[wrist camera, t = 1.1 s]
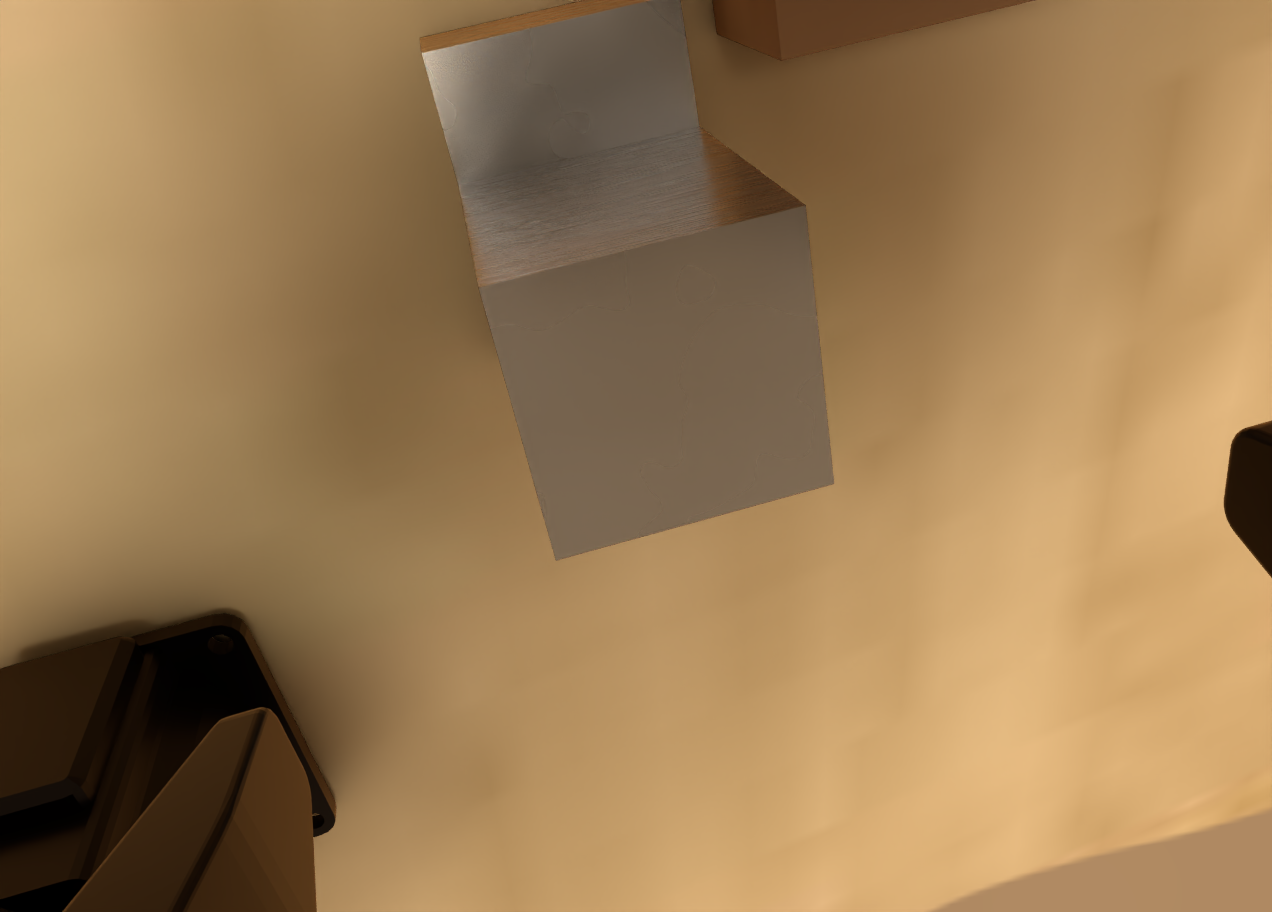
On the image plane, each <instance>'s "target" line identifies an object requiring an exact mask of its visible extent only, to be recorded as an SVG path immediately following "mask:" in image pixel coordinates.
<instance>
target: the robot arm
mask: <svg viewBox="0 0 1272 912" xmlns="http://www.w3.org/2000/svg"><path fill="white" fill-rule="evenodd" d="M1224 510H1225V514H1226V517H1227V520H1228V522H1229V524H1230V526H1231V528H1232V529H1233V531H1234V532H1235V533H1236V535H1237V536H1238V537H1239V538H1240V539H1241V541H1242V542H1243V543H1244V544H1245V546H1246V547H1247V548H1248V549H1249V551H1250V552H1251V553H1252V554H1253V555H1254V557H1255V558H1256V559H1257V560H1258V562H1259V563H1260V564H1261V565H1262V567H1263V568H1264V569H1265V570H1266V571H1267V573H1268V574H1269V575H1270V576H1271V578H1272V421H1268V422H1265V423H1261V424H1258V425H1254V426H1251V427H1247V428H1244V429H1242V430H1241V431H1240V432H1238V433H1237V434H1236V436H1235V437H1234V439H1233V441H1232V444H1231V449H1230V457H1229V464H1228V472H1227V480H1226V487H1225V495H1224ZM215 635H225V636H228V637H230V638H231V639H232V640H231V641H229V642H219V641H216V640H215V639H214V638H213V636H215ZM313 813H316V814H320V815H316V816H312V814H313ZM335 820H336V803H335V800H334V798H333V796H332V794H331V792H330V790H329V788H328V786H327V784H326V782H325V780H324V778H323V776H322V774H321V772H320V770H319V768H318V766H317V764H316V762H315V760H314V758H313V756H312V754H311V752H310V750H309V748H308V746H307V744H306V742H305V740H304V738H303V736H302V734H301V732H300V730H299V728H298V726H297V724H296V722H295V720H294V718H293V716H292V714H291V712H290V710H289V708H288V706H287V704H286V702H285V700H284V698H283V696H282V694H281V692H280V690H279V688H278V686H277V684H276V682H275V680H274V678H273V676H272V674H271V672H270V670H269V668H268V666H267V664H266V662H265V660H264V658H263V656H262V654H261V652H260V650H259V648H258V646H257V644H256V642H255V640H254V638H253V636H252V634H251V632H250V630H249V628H248V626H247V625H246V624H245V623H244V621H243V620H242V619H240V618H238V617H236V616H235V615H230V614H225V613H223V614H214V615H210V616H207V617H203V618H199V619H196V620H192V621H188V622H185V623H181V624H177V625H174V626H170V627H166V628H162V629H159V630H155V631H151V632H148V633H144V634H140V635H137V636H133V637H116V638H112V639H108V640H104V641H101V642H97V643H93V644H90V645H86V646H82V647H79V648H75V649H71V650H68V651H64V652H60V653H57V654H53V655H49V656H46V657H42V658H38V659H35V660H31V661H27V662H23V663H20V664H16V665H12V666H9V667H5V668H2V669H1V670H0V912H317V908H316V887H315V866H314V844H313V837H316V836H320V835H322V834H324V833H327V832H328V831H329V830H330V829H331V828H332V827H333V826H334V823H335Z"/></svg>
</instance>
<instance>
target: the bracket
mask: <svg viewBox="0 0 1272 912" xmlns="http://www.w3.org/2000/svg"><path fill="white" fill-rule="evenodd" d="M420 45H421V53H422V57H423V60H424V64H425V68H426V71H427V75H428V78H429V82H430V86H431V89H432V93H433V96H434V100H435V103H436V107H437V111H438V114H439V118H440V121H441V125H442V129H443V132H444V136H445V139H446V143H447V146H448V150H449V154H450V157H451V161H452V164H453V168H454V172H455V175H456V179H457V182H458V186H459V191H460V196H461V201H462V207H463V212H464V217H465V222H466V227H467V232H468V237H469V242H470V247H471V252H472V257H473V262H474V267H475V272H476V277H477V283H478V288H479V291H480V295H481V298H482V302H483V305H484V309H485V312H486V316H487V319H488V323H489V326H490V330H491V333H492V337H493V341H494V344H495V348H496V351H497V355H498V358H499V362H500V365H501V369H502V372H503V376H504V379H505V383H506V386H507V390H508V393H509V397H510V400H511V404H512V407H513V411H514V415H515V418H516V422H517V425H518V429H519V432H520V436H521V439H522V443H523V446H524V450H525V453H526V457H527V460H528V464H529V467H530V471H531V474H532V478H533V482H534V485H535V489H536V492H537V496H538V499H539V503H540V506H541V510H542V513H543V517H544V520H545V524H546V527H547V531H548V534H549V538H550V541H551V545H552V548H553V552H554V556H555V559H556V560H560V559H563V558H567V557H571V556H574V555H578V554H582V553H585V552H589V551H592V550H596V549H600V548H603V547H607V546H611V545H614V544H618V543H621V542H625V541H629V540H632V539H636V538H640V537H643V536H647V535H650V534H654V533H658V532H661V531H665V530H669V529H672V528H676V527H679V526H683V525H687V524H690V523H694V522H698V521H701V520H705V519H708V518H712V517H716V516H719V515H723V514H727V513H730V512H734V511H737V510H741V509H745V508H748V507H752V506H756V505H759V504H763V503H766V502H770V501H774V500H777V499H781V498H785V497H788V496H792V495H795V494H799V493H803V492H806V491H810V490H814V489H817V488H821V487H824V486H828V485H832V484H834V477H833V467H832V458H831V448H830V438H829V428H828V419H827V409H826V399H825V389H824V380H823V370H822V360H821V351H820V341H819V331H818V321H817V312H816V302H815V292H814V282H813V273H812V263H811V253H810V243H809V234H808V224H807V214H806V205H804V204H803V203H802V202H800V201H799V200H798V199H796V198H795V197H794V196H792V195H791V194H790V193H788V192H787V191H785V190H784V189H783V188H781V187H780V186H779V185H777V184H776V183H775V182H773V181H772V180H771V179H769V178H768V177H767V176H765V175H764V174H763V173H761V172H760V171H759V170H757V169H756V168H755V167H753V166H752V165H751V164H749V163H748V162H747V161H745V160H744V159H743V158H741V157H740V156H739V155H737V154H736V153H734V152H733V151H732V150H730V149H729V148H728V147H726V146H725V145H724V144H722V143H721V142H720V141H718V140H717V139H716V138H714V137H713V136H712V135H710V134H709V133H708V132H706V131H705V130H704V129H702V128H701V127H700V126H699V120H698V113H697V107H696V100H695V94H694V87H693V80H692V74H691V67H690V60H689V54H688V47H687V41H686V34H685V27H684V21H683V14H682V8H681V1H680V0H583V1H579V2H574V3H570V4H566V5H561V6H557V7H553V8H548V9H544V10H539V11H535V12H531V13H526V14H522V15H518V16H513V17H509V18H505V19H500V20H496V21H492V22H487V23H483V24H479V25H474V26H470V27H465V28H461V29H457V30H452V31H448V32H444V33H439V34H435V35H431V36H426V37H422V38H420Z"/></svg>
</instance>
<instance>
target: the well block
mask: <svg viewBox="0 0 1272 912" xmlns="http://www.w3.org/2000/svg"><path fill="white" fill-rule="evenodd" d="M1030 1H1034V0H713V8H714V15H715V22H716V30H717V34H718V35H720V36H723V37H725V38H728V39H730V40H733V41H735V42H737V43H740V44H742V45H745V46H747V47H750V48H752V49H754V50H757V51H759V52H762V53H764V54H767V55H769V56H772V57H774V58H776V59H779V60H781V61H783V60H787V59H791V58H795V57H799V56H804V55H808V54H812V53H816V52H820V51H824V50H829V49H833V48H837V47H841V46H845V45H850V44H854V43H858V42H862V41H866V40H871V39H875V38H879V37H883V36H887V35H892V34H896V33H900V32H904V31H908V30H913V29H917V28H921V27H925V26H929V25H934V24H938V23H942V22H946V21H950V20H954V19H959V18H963V17H967V16H971V15H975V14H980V13H984V12H988V11H992V10H996V9H1001V8H1005V7H1009V6H1013V5H1017V4H1022V3H1026V2H1030Z"/></svg>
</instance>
